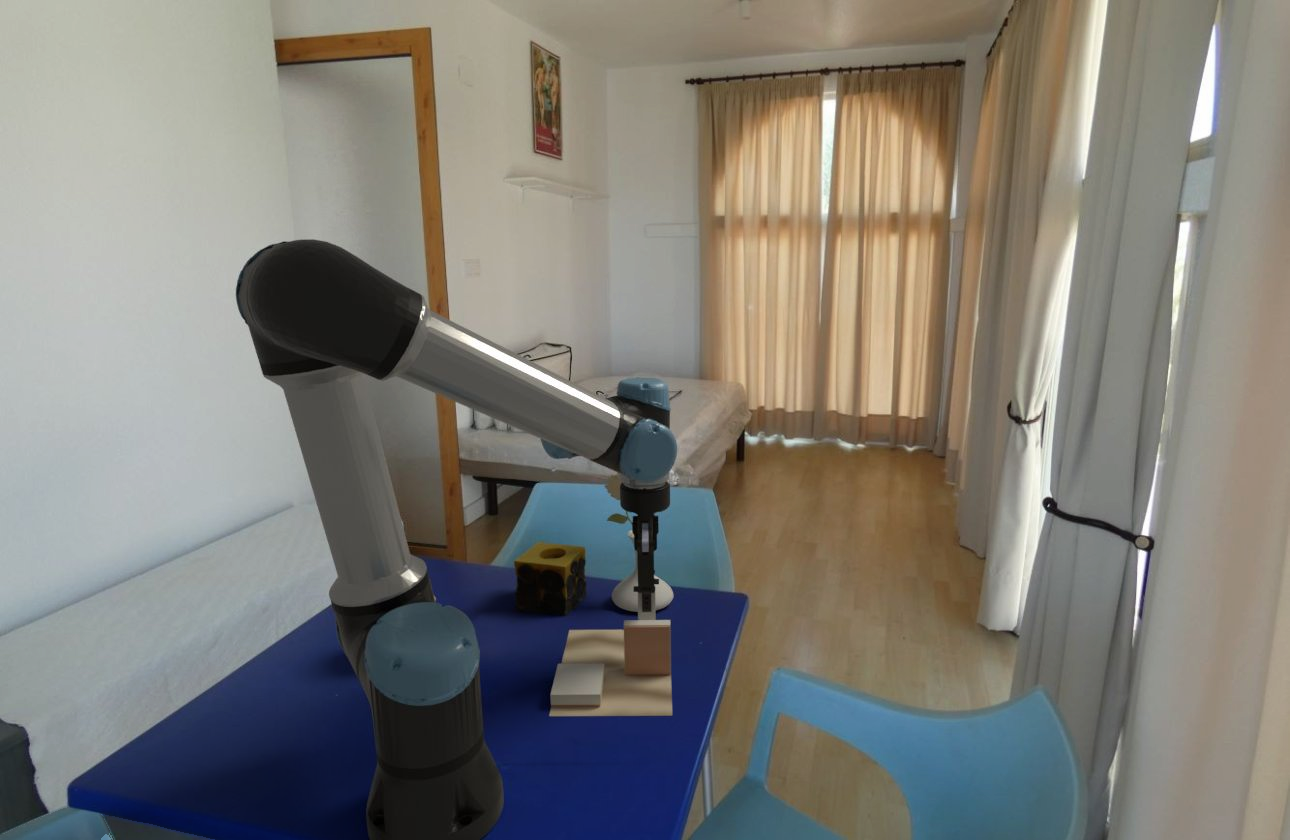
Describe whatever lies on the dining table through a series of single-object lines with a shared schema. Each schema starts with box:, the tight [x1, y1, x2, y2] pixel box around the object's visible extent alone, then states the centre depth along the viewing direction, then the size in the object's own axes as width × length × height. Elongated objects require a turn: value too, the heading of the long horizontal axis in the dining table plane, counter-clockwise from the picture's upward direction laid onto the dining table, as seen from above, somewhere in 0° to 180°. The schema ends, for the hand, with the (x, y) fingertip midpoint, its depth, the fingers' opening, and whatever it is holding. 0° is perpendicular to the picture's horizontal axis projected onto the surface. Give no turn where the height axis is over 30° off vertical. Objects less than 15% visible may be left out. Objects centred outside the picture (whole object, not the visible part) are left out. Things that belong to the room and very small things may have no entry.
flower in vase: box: [604, 472, 674, 613], centre depth 132 cm, size 13×11×25 cm
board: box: [548, 629, 673, 717], centre depth 113 cm, size 24×17×1 cm
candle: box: [513, 541, 587, 617], centre depth 134 cm, size 10×10×10 cm
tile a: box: [549, 663, 605, 707], centre depth 106 cm, size 2×7×8 cm
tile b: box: [623, 619, 672, 675], centre depth 111 cm, size 2×7×8 cm, turn 89°
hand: (647, 626), depth 114 cm, fingers closed
